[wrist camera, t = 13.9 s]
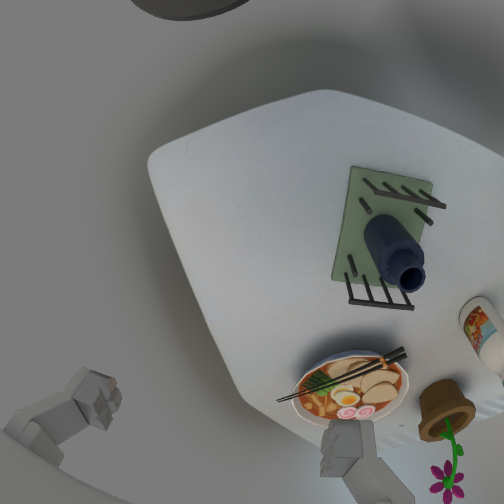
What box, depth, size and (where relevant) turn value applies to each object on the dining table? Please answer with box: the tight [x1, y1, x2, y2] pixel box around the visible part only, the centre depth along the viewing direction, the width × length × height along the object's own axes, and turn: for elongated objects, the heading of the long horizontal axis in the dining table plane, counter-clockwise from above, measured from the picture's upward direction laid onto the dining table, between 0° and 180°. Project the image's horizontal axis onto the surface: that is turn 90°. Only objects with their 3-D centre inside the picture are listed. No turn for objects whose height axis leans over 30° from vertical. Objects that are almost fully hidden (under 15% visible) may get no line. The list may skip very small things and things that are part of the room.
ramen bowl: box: [276, 346, 409, 428], centre depth 52 cm, size 25×23×8 cm
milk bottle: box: [459, 297, 504, 386], centre depth 37 cm, size 8×8×20 cm
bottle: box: [364, 214, 426, 293], centre depth 36 cm, size 6×6×14 cm
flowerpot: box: [418, 379, 476, 504], centre depth 43 cm, size 14×14×30 cm
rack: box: [331, 166, 446, 311], centre depth 39 cm, size 18×13×10 cm
